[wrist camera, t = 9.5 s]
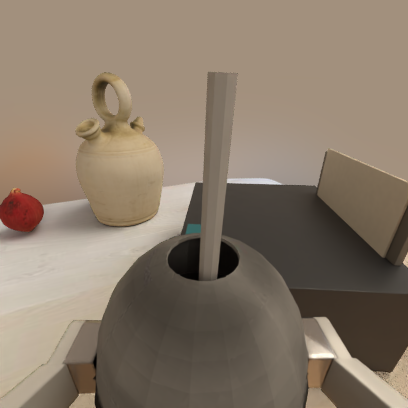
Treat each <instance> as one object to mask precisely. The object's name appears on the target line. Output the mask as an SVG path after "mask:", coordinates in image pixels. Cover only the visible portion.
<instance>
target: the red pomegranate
mask: <svg viewBox="0 0 408 408" xmlns="http://www.w3.org/2000/svg"><path fill="white" fill-rule="evenodd" d="M43 214H44V209H43V206H42V204H41V203H40V202H39V201H38V200H37V199H35V198H33V197H32V196H30V195H27V194H24V193H21V192H20V189H18V188H14V189H12V190H11V192H10V195H9V196H8V197H7V198H5V199H4V200H3V202H2V204H1V205H0V219H1V221H2V222H3V224H4V225H5V226H7V227H8V228H10V229H13V230H17V231H24V232H30V231H32V230H33V229H34V228H35V227H36V226H37V225H38V224H39V223H40V221H41V220H42V218H43Z"/></svg>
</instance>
